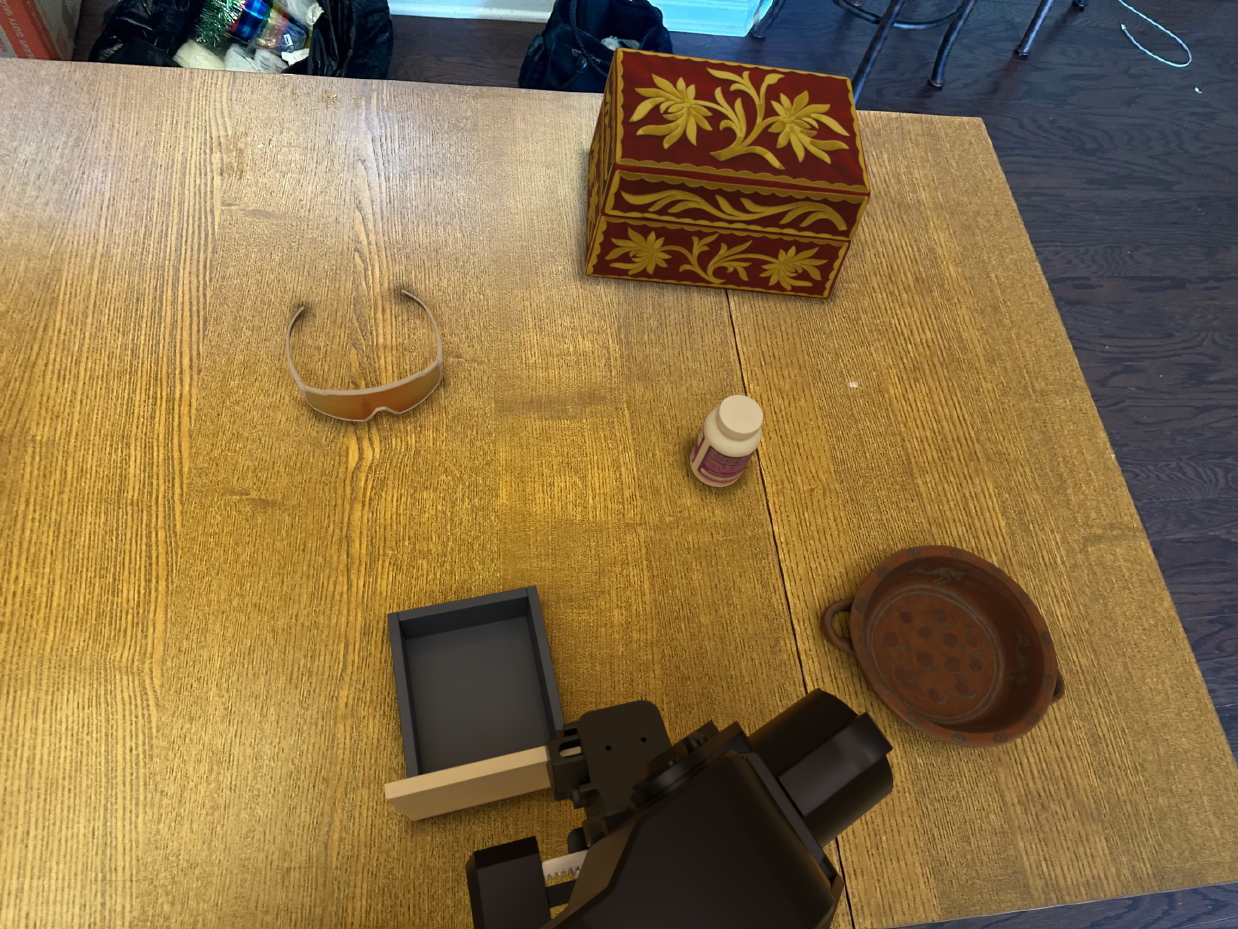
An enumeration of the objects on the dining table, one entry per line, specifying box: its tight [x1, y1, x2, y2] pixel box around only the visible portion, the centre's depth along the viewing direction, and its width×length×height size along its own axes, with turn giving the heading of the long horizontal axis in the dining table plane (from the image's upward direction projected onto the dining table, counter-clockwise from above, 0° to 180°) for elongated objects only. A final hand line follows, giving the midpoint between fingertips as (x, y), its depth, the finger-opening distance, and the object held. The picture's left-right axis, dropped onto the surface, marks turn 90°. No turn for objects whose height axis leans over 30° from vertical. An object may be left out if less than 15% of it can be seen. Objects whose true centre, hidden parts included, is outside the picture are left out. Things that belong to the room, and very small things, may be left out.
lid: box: [383, 746, 581, 822], centre depth 50 cm, size 15×12×1 cm
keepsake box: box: [386, 584, 566, 822], centre depth 63 cm, size 15×12×6 cm
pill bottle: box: [689, 394, 764, 488], centre depth 75 cm, size 5×5×10 cm
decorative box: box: [584, 47, 872, 299], centre depth 87 cm, size 28×19×15 cm
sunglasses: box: [285, 289, 444, 423], centre depth 78 cm, size 14×15×5 cm
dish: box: [819, 544, 1066, 749], centre depth 71 cm, size 18×22×5 cm
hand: (620, 873), depth 52 cm, fingers closed
